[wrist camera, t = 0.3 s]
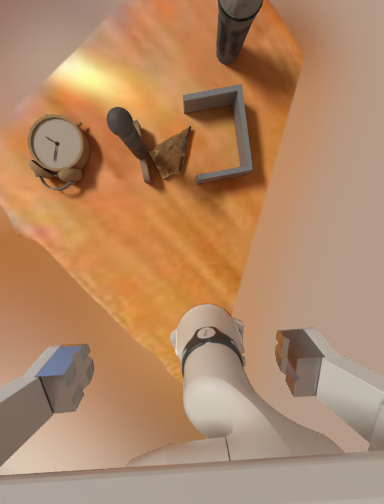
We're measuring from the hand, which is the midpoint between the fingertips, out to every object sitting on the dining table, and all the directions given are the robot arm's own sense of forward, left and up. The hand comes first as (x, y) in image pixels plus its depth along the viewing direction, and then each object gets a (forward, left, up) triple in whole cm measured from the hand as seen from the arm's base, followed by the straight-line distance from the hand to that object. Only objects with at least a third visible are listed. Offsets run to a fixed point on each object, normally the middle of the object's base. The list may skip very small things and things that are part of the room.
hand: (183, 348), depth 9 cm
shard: (+21, 0, -42) cm, 47 cm away
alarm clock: (+24, +23, -42) cm, 54 cm away
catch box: (+21, -10, -42) cm, 47 cm away
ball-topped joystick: (+21, +6, -42) cm, 47 cm away
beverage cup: (+38, -16, -42) cm, 58 cm away
